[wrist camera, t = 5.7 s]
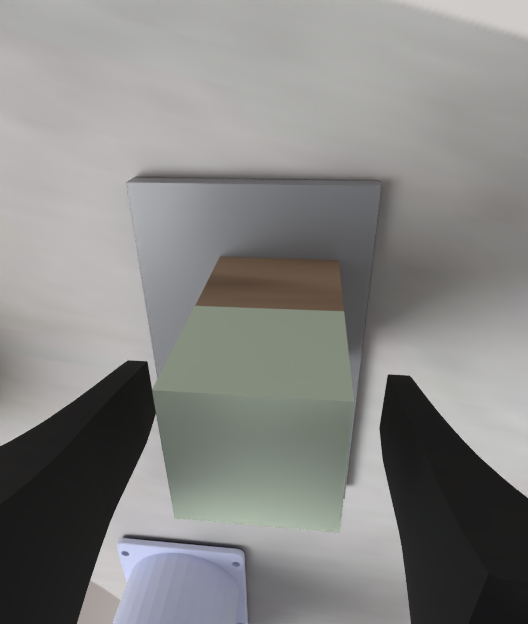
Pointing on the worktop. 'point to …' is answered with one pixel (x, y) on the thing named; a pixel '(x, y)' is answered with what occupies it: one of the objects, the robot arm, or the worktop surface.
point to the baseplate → (249, 242)
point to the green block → (257, 417)
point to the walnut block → (274, 284)
